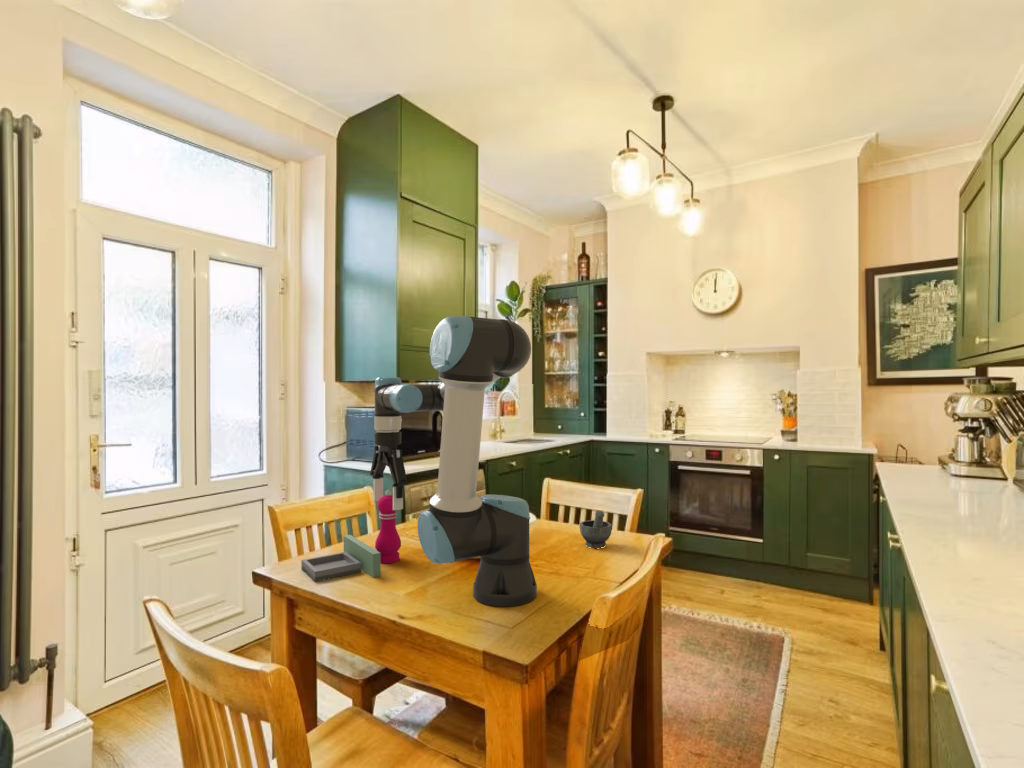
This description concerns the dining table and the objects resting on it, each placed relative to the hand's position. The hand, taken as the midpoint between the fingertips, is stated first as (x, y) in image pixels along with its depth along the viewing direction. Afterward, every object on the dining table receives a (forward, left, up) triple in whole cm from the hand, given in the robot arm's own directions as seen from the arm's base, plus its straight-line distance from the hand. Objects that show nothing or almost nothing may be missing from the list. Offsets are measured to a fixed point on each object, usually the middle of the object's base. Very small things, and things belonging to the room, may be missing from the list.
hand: (387, 505), depth 153 cm
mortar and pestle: (-27, -56, -16) cm, 65 cm away
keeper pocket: (+1, +16, -16) cm, 22 cm away
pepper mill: (0, 0, -16) cm, 16 cm away
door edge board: (0, +8, -16) cm, 18 cm away
